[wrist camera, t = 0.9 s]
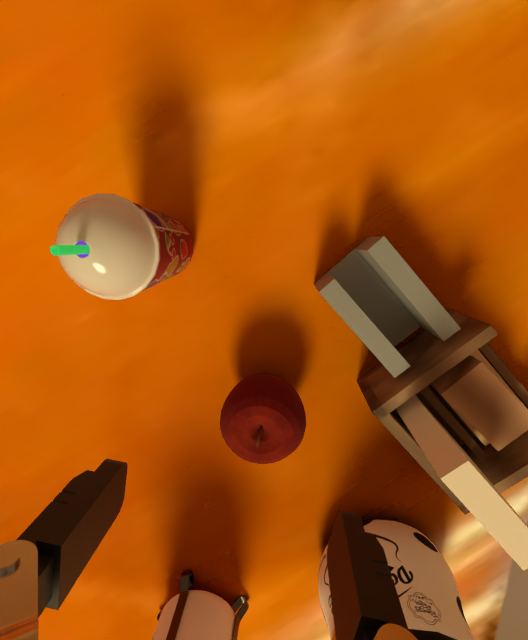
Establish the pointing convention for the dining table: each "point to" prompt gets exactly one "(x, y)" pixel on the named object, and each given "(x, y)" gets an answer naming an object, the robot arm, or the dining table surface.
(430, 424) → the cream rectangular board
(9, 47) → the dining table surface
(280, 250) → the dining table surface
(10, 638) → the robot arm
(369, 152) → the dining table surface
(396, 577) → the milk container
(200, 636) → the coffee press
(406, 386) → the box
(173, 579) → the dining table surface
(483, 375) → the offcut small
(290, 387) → the apple
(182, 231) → the smoothie
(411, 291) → the holder
